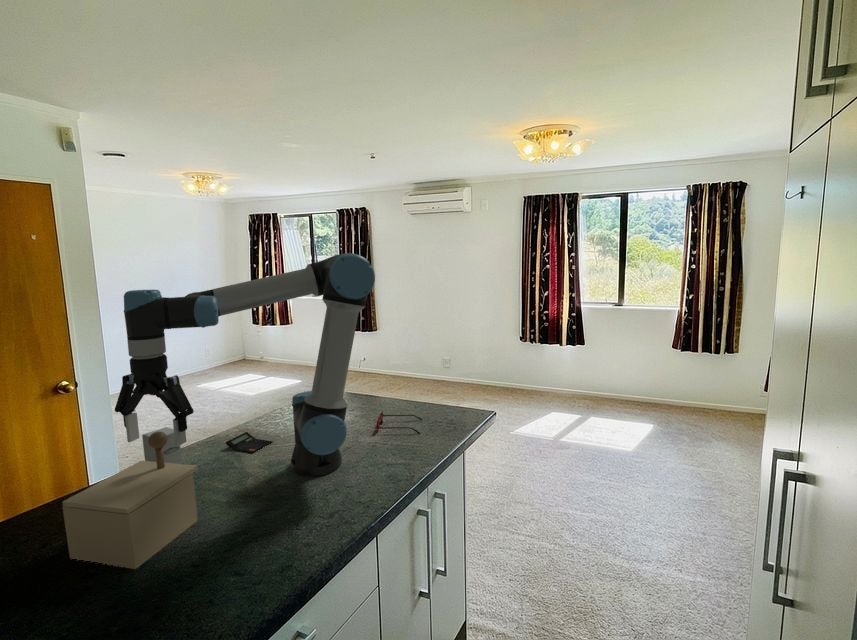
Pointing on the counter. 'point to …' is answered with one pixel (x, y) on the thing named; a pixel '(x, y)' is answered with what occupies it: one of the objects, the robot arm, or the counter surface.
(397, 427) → the glasses
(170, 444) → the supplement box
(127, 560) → the carton
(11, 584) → the counter surface
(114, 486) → the flap
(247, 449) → the calculator
